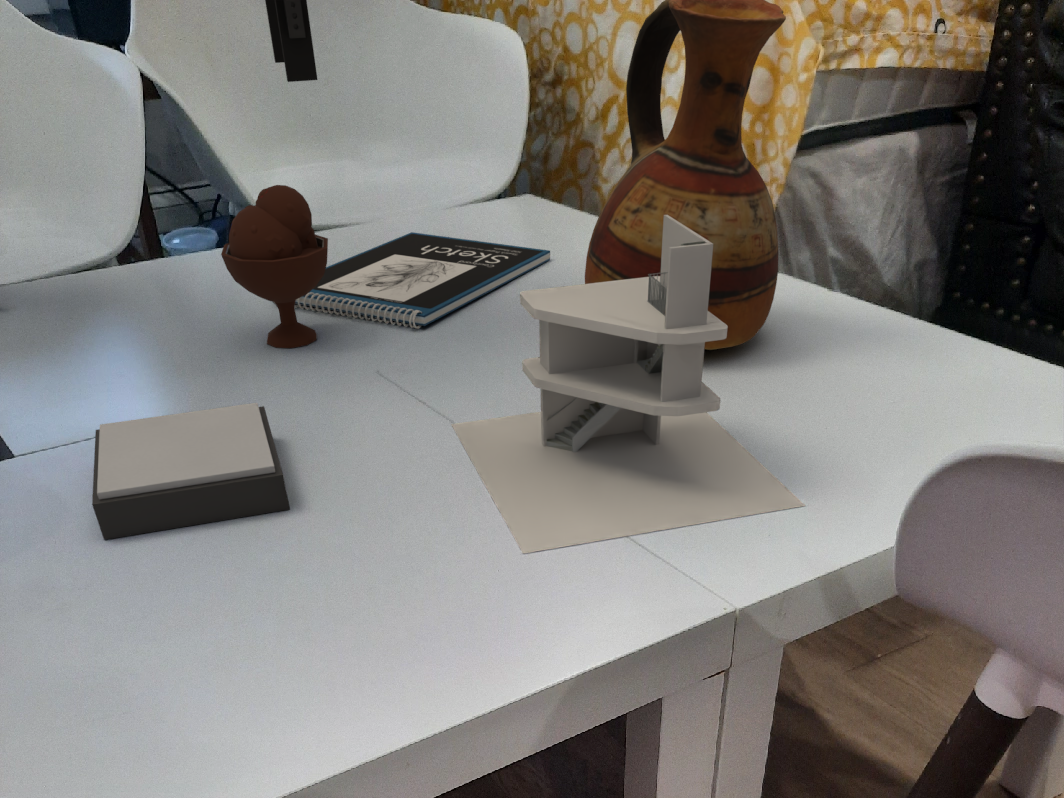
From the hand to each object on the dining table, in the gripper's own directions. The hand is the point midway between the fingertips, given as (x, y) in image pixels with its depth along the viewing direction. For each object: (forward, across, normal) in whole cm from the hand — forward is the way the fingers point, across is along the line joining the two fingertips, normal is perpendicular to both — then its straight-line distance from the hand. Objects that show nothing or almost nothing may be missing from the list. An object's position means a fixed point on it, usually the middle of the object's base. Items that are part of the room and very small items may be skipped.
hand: (295, 71), depth 98 cm
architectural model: (+24, -43, -18) cm, 53 cm away
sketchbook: (+24, +11, -12) cm, 29 cm away
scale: (+24, -36, +16) cm, 46 cm away
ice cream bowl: (+24, -4, +5) cm, 25 cm away
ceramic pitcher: (+24, -17, -34) cm, 45 cm away
